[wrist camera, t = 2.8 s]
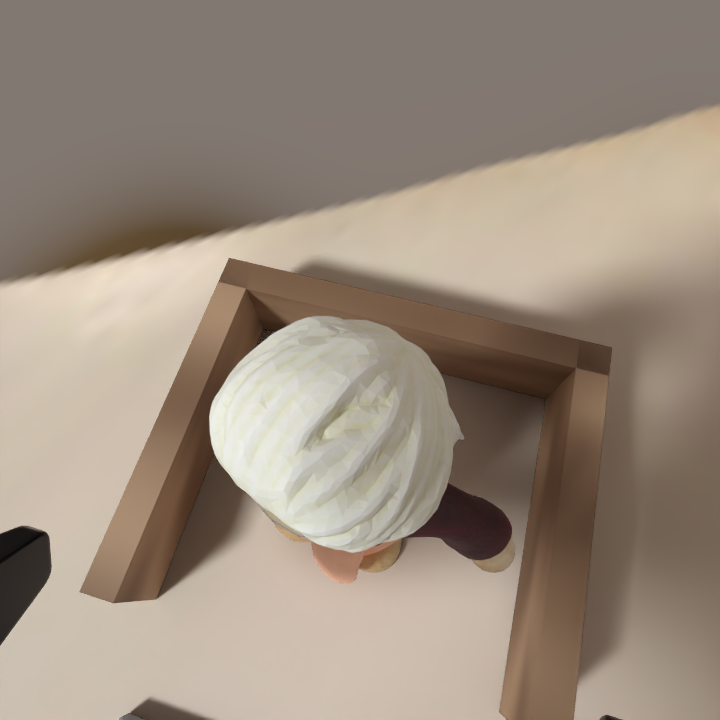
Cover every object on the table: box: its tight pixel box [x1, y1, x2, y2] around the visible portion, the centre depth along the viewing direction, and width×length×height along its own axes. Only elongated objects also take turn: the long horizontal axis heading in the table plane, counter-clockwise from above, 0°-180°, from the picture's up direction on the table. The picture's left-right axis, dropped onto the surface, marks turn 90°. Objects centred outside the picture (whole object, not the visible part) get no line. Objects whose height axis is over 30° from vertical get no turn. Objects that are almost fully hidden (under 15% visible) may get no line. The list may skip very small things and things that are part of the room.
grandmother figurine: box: [209, 316, 515, 584], centre depth 12 cm, size 8×4×13 cm, turn 77°
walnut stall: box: [80, 258, 612, 720], centre depth 17 cm, size 11×13×3 cm
